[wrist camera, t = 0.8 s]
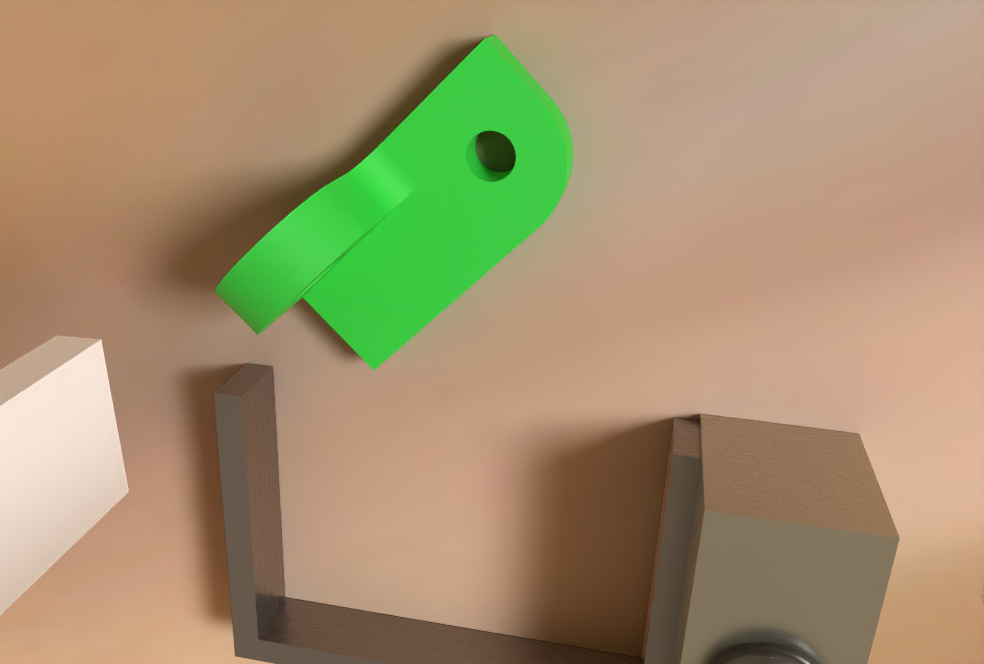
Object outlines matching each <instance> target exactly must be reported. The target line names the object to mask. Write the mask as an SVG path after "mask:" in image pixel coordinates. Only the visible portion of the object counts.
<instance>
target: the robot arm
mask: <svg viewBox="0 0 984 664" xmlns="http://www.w3.org/2000/svg"><path fill="white" fill-rule="evenodd" d="M128 492H129V490H128V484H127V479H126V474H125V468H124V463H123V457H122V452H121V446H120V441H119V435H118V430H117V424H116V419H115V413H114V408H113V402H112V397H111V391H110V386H109V380H108V375H107V369H106V364H105V358H104V353H103V348H102V342H101V339H90V338H79V337H68V336H55V337H53V338H52V339H50V340H48V341H47V342H45V343H43V344H42V345H40V346H39V347H37V348H35V349H34V350H32V351H30V352H29V353H27V354H25V355H24V356H22V357H20V358H19V359H17V360H15V361H14V362H12V363H11V364H9V365H7V366H6V367H4V368H2V369H1V370H0V615H1V614H2V613H3V612H4V611H5V610H6V609H7V608H9V607H10V606H11V605H12V604H13V603H14V602H15V601H16V600H17V599H18V598H19V597H20V596H21V595H22V594H23V593H24V592H25V591H26V590H27V589H28V588H29V587H30V586H31V585H32V584H33V583H34V582H35V581H37V580H38V579H39V578H40V577H41V576H42V575H43V574H44V573H45V572H46V571H47V570H48V569H49V568H50V567H51V566H52V565H53V564H54V563H55V562H56V561H57V560H58V559H59V558H60V557H61V556H62V555H64V554H65V553H66V552H67V551H68V550H69V549H70V548H71V547H72V546H73V545H74V544H75V543H76V542H77V541H78V540H79V539H80V538H81V537H82V536H83V535H84V534H85V533H86V532H87V531H88V530H89V529H90V528H92V527H93V526H94V525H95V524H96V523H97V522H98V521H99V520H100V519H101V518H102V517H103V516H104V515H105V514H106V513H107V512H108V511H109V510H110V509H111V508H112V507H113V506H114V505H115V504H116V503H117V502H119V501H120V500H121V499H122V498H123V497H124V496H125V495H126V494H127V493H128ZM981 599H982V602H983V604H984V586H983V590H982V594H981Z"/></svg>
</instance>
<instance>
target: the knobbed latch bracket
mask: <svg viewBox="0 0 984 664" xmlns="http://www.w3.org/2000/svg"><path fill="white" fill-rule="evenodd" d="M214 402H215V415H216V427H217V439H218V451H219V464H220V476H221V488H222V501H223V513H224V525H225V538H226V550H227V562H228V575H229V587H230V599H231V611H232V624H233V636H234V648H235V656H237V657H242V658H248V659H253V660H259V661H264V662H269V663H275V664H867V663H868V659H869V655H870V651H871V647H872V643H873V639H874V635H875V632H876V628H877V624H878V620H879V616H880V612H881V608H882V604H883V600H884V597H885V593H886V589H887V585H888V581H889V577H890V573H891V569H892V566H893V562H894V558H895V554H896V550H897V546H898V542H899V535H898V533H897V530H896V528H895V525H894V522H893V520H892V517H891V515H890V512H889V510H888V507H887V504H886V502H885V499H884V497H883V494H882V492H881V489H880V486H879V484H878V481H877V479H876V476H875V474H874V471H873V468H872V466H871V463H870V461H869V458H868V456H867V453H866V450H865V448H864V445H863V443H862V440H861V438H860V435H859V434H856V433H848V432H840V431H832V430H824V429H816V428H808V427H800V426H792V425H784V424H776V423H768V422H760V421H752V420H744V419H736V418H728V417H720V416H712V415H704V414H700V420H699V421H697V420H690V419H682V418H674V421H673V428H672V435H671V443H670V450H669V457H668V465H667V472H666V479H665V487H664V494H663V501H662V509H661V516H660V523H659V531H658V538H657V546H656V553H655V560H654V568H653V575H652V582H651V590H650V597H649V604H648V612H647V619H646V626H645V634H644V641H643V648H642V656H641V658H636V657H630V656H624V655H619V654H613V653H607V652H601V651H595V650H589V649H583V648H578V647H572V646H566V645H560V644H554V643H548V642H542V641H537V640H531V639H525V638H519V637H513V636H507V635H501V634H496V633H490V632H484V631H478V630H472V629H466V628H460V627H455V626H449V625H443V624H437V623H431V622H425V621H419V620H414V619H408V618H402V617H396V616H390V615H384V614H378V613H373V612H367V611H361V610H355V609H349V608H343V607H337V606H331V605H326V604H320V603H314V602H308V601H302V600H296V599H290V598H285V586H284V567H283V548H282V529H281V510H280V491H279V472H278V453H277V434H276V415H275V396H274V377H273V367H271V366H263V365H256V364H248V363H247V364H246V365H244V366H243V367H242V368H241V369H240V370H239V371H238V372H237V373H235V374H234V375H233V376H232V377H231V378H230V379H229V380H228V381H227V382H225V383H224V384H223V385H222V386H221V387H220V388H219V389H218V390H216V391H215V392H214Z"/></svg>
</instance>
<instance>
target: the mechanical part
mask: <svg viewBox="0 0 984 664" xmlns="http://www.w3.org/2000/svg"><path fill="white" fill-rule="evenodd" d="M484 131H496V132H499V133H501V134H503V135H505V136H506V137H507V138H508V139H509V140H510V141H511V143H512V144H513V146H514V149H515V153H516V162H515V166H514V168H513V169H511V170H508V171H504V172H498V171H493V170H491V169H489V168H487V167H486V166H485V165H484V164H483V163H482V162H481V160H480V159H479V157H478V154H477V149H476V144H477V139H478V136H479V135H480V133H481V132H484ZM572 163H573V147H572V140H571V135H570V132H569V128H568V126H567V123H566V121H565V119H564V117H563V115H562V113H561V111H560V110H559V108H558V106H557V105H556V104H555V103H554V101H553V100H552V99H551V98H550V97H549V95H548V94H547V93H546V92H545V91H544V90H543V89H542V87H541V86H540V85H539V84H538V83H537V82H536V81H535V80H534V78H533V77H532V76H531V75H530V74H529V73H528V72H527V70H526V69H525V68H524V67H523V66H522V65H521V64H520V62H519V61H518V60H517V59H516V58H515V57H514V56H513V55H512V53H511V52H510V51H509V50H508V49H507V48H506V47H505V45H504V44H503V43H502V42H501V41H500V40H499V39H498V37H497V36H496V35H493V36H490V37H487V38H485V39H484V40H483V41H482V42H481V43H480V44H479V45H478V46H477V47H476V48H475V49H474V50H473V51H472V52H471V53H470V54H469V55H468V56H467V57H466V58H465V59H464V60H463V61H462V62H461V63H460V64H459V65H458V66H457V67H456V68H455V69H454V70H453V71H452V72H451V73H450V74H449V75H448V76H447V77H446V78H445V79H444V80H443V81H442V82H441V83H440V84H439V85H438V86H437V87H436V88H435V89H434V90H433V91H432V92H431V93H430V94H429V95H428V96H427V97H426V98H425V99H424V101H423V102H422V103H421V104H420V105H419V106H418V107H417V108H416V109H415V110H414V111H413V112H412V113H411V114H410V115H409V116H408V117H407V118H406V119H405V120H404V121H403V122H402V123H401V124H400V125H399V126H398V127H397V128H396V129H395V130H394V131H393V132H392V133H391V134H390V135H389V136H388V137H387V138H386V139H385V140H384V141H383V142H382V143H381V144H380V145H379V146H378V147H377V148H376V149H375V150H374V151H373V152H372V153H371V154H370V155H369V156H368V157H366V158H365V159H364V160H363V161H362V162H361V163H360V164H358V165H357V166H356V167H355V168H353V169H352V170H351V171H349V172H348V173H346V174H344V175H343V176H341V177H339V178H338V179H336V180H334V181H333V182H331V183H329V184H328V185H326V186H324V187H323V188H321V189H320V190H319V191H317V192H316V193H314V194H313V195H312V196H311V197H309V198H308V199H307V200H305V201H304V202H303V203H302V204H301V205H299V206H298V207H297V208H296V209H295V210H293V211H292V212H291V213H290V214H289V215H287V216H286V217H285V218H284V219H283V220H282V221H281V222H279V223H278V224H277V225H276V226H275V227H274V228H273V229H272V230H271V231H270V232H268V233H267V234H266V235H265V236H264V237H263V238H262V239H261V240H260V241H259V242H258V243H257V244H256V245H255V246H254V247H253V248H252V249H251V250H250V251H248V252H247V253H246V254H245V255H244V256H243V257H242V258H241V260H240V261H239V262H238V263H237V264H236V265H235V266H234V267H233V268H232V269H231V270H230V271H229V272H228V273H227V275H226V276H225V277H224V278H223V279H222V281H221V282H220V283H219V284H218V286H217V287H216V289H215V292H216V293H217V294H218V295H219V296H220V297H221V298H222V299H223V300H224V301H225V302H226V303H227V304H228V305H229V306H230V307H231V308H232V309H233V310H234V311H235V312H236V313H237V314H238V315H239V316H240V317H241V318H242V319H243V320H244V322H245V323H246V324H247V325H248V326H249V327H250V328H251V329H252V330H253V331H254V332H255V333H256V334H257V335H258V334H260V333H261V332H262V331H264V330H265V329H266V328H267V327H268V326H270V325H271V324H272V323H273V322H274V321H275V320H277V319H278V318H279V317H280V316H281V315H282V314H284V313H285V312H286V311H287V310H288V309H290V308H291V307H292V306H293V305H294V304H295V303H297V302H298V301H299V300H300V299H301V298H302V297H303V298H304V299H305V300H306V301H307V302H308V303H309V304H310V305H311V306H312V307H313V308H314V310H315V311H316V312H317V313H318V314H319V315H320V316H321V317H322V318H323V319H324V320H325V321H326V322H327V323H328V324H329V325H330V326H331V327H332V328H333V329H334V330H335V331H336V332H337V333H338V334H339V335H340V336H341V337H342V338H343V339H344V340H345V341H346V342H347V343H348V344H349V345H350V346H351V348H352V349H353V350H354V351H355V352H356V353H357V354H358V355H359V356H360V357H361V358H362V359H363V360H364V361H365V362H366V363H367V364H368V365H369V366H370V367H371V368H372V369H373V370H375V369H376V368H377V367H379V366H380V365H381V364H382V363H383V362H384V361H385V360H387V359H388V358H389V357H390V356H391V355H392V354H394V353H395V352H396V351H397V350H398V349H399V348H400V347H402V346H403V345H404V344H405V343H406V342H407V341H409V340H410V339H411V338H412V337H413V336H414V335H415V334H417V333H418V332H419V331H420V330H421V329H422V328H423V327H425V326H426V325H427V324H428V323H429V322H430V321H432V320H433V319H434V318H435V317H436V316H437V315H438V314H440V313H441V312H442V311H443V310H444V309H445V308H446V307H448V306H449V305H450V304H451V303H452V302H453V301H455V300H456V299H457V298H458V297H459V296H460V295H461V294H463V293H464V292H465V291H466V290H467V289H468V288H469V287H471V286H472V285H473V284H474V283H475V282H476V281H478V280H479V279H480V278H481V277H482V276H483V275H484V274H486V273H487V272H488V271H489V270H490V269H491V268H492V267H494V266H495V265H496V264H497V263H498V262H499V261H501V260H502V259H503V258H504V257H505V256H506V255H507V254H509V253H510V252H511V251H512V250H513V249H514V248H516V247H517V246H518V245H519V244H520V243H521V242H522V241H524V240H525V239H526V238H527V237H528V236H529V235H530V234H532V233H533V232H534V231H535V230H536V229H537V228H539V227H540V226H541V225H542V224H543V223H544V222H545V221H546V220H547V218H548V217H549V216H550V215H551V213H552V212H553V210H554V209H555V207H556V206H557V204H558V202H559V200H560V198H561V196H562V195H563V193H564V191H565V189H566V186H567V184H568V181H569V178H570V174H571V170H572Z"/></svg>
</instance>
